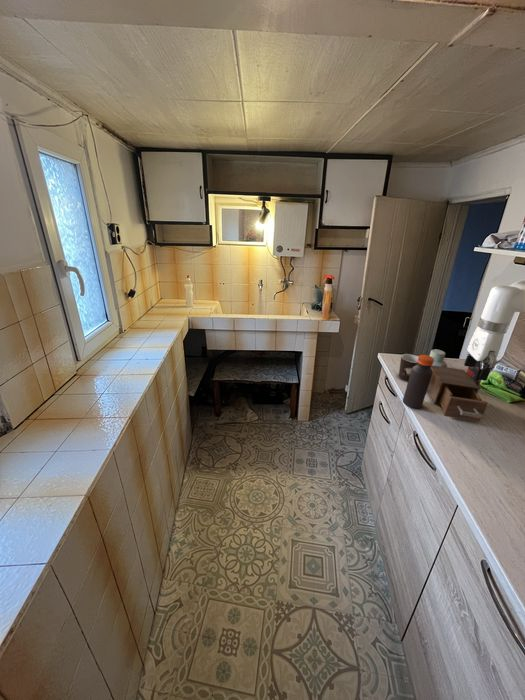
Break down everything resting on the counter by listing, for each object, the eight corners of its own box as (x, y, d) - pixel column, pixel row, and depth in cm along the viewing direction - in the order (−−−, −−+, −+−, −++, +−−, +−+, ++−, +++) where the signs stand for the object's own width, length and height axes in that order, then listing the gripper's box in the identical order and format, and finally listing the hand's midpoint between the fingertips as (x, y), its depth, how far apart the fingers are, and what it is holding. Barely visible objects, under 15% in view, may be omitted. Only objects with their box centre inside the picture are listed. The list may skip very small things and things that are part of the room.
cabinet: (470, 409, 107) (479, 388, 103) (434, 403, 110) (441, 382, 105) (456, 389, 120) (464, 369, 116) (424, 384, 122) (430, 365, 118)
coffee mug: (392, 377, 127) (397, 357, 123) (400, 371, 133) (406, 352, 128) (419, 388, 120) (425, 367, 115) (426, 381, 125) (433, 361, 121)
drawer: (485, 430, 95) (494, 411, 91) (448, 424, 97) (455, 405, 94) (464, 400, 111) (471, 383, 108) (433, 395, 113) (438, 378, 110)
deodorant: (464, 379, 128) (476, 349, 122) (479, 384, 124) (492, 354, 118) (460, 383, 124) (472, 353, 118) (476, 389, 120) (489, 358, 114)
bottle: (410, 409, 105) (425, 362, 97) (398, 399, 111) (411, 354, 103) (425, 408, 107) (441, 361, 98) (413, 398, 113) (427, 353, 104)
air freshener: (430, 364, 141) (436, 346, 136) (447, 371, 134) (454, 353, 130) (417, 369, 135) (423, 350, 131) (434, 377, 129) (440, 357, 125)
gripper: (469, 316, 98) (453, 360, 105) (491, 333, 82) (471, 383, 90) (494, 318, 96) (476, 363, 103) (521, 336, 81) (499, 387, 88)
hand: (474, 372), depth 96 cm, fingers open, 9 cm apart
